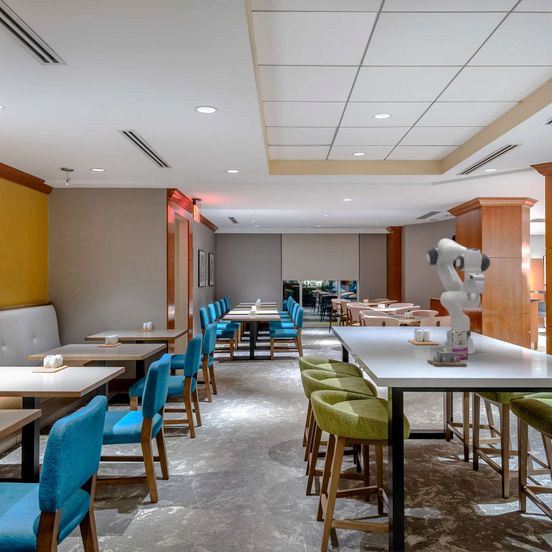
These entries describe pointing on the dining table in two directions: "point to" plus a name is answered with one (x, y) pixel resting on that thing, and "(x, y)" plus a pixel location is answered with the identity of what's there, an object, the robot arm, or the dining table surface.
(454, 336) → the candy bar box
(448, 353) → the block
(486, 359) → the dining table surface
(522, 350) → the dining table surface
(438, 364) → the pin tray
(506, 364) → the dining table surface
